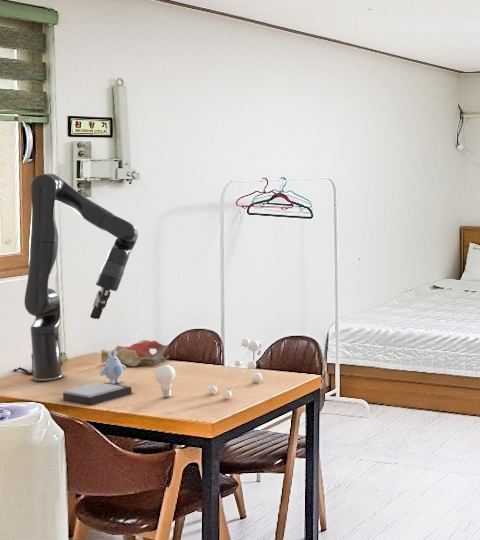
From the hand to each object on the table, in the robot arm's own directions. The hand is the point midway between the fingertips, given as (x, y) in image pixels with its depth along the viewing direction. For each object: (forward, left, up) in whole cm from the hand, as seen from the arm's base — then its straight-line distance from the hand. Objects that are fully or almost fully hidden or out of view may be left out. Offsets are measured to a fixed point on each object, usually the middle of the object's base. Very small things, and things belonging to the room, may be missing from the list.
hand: (94, 318), depth 312 cm
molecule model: (+55, +15, -24) cm, 61 cm away
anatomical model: (-14, +29, -24) cm, 40 cm away
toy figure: (+7, +1, -24) cm, 25 cm away
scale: (+18, -14, -23) cm, 32 cm away
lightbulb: (+40, -4, -24) cm, 46 cm away
